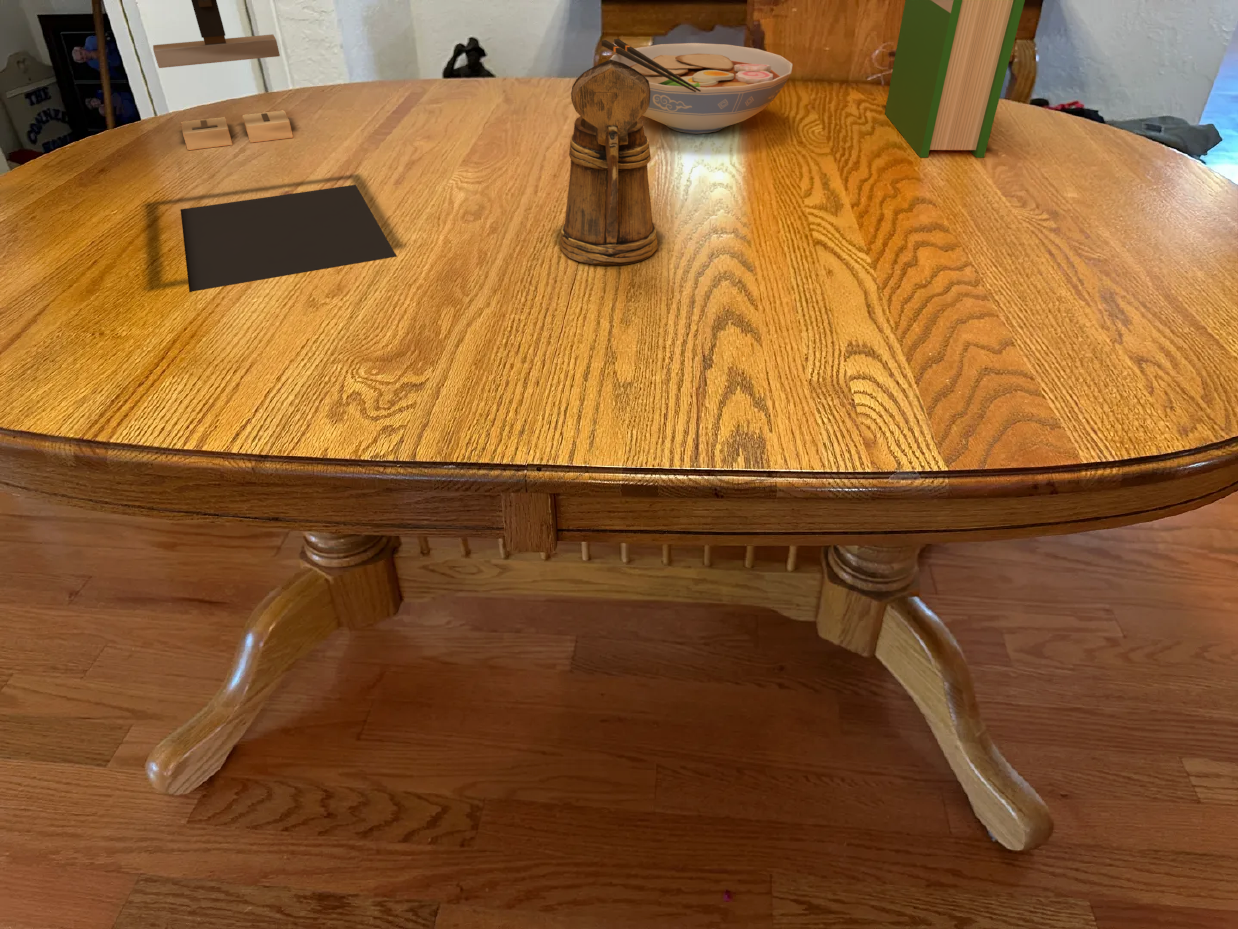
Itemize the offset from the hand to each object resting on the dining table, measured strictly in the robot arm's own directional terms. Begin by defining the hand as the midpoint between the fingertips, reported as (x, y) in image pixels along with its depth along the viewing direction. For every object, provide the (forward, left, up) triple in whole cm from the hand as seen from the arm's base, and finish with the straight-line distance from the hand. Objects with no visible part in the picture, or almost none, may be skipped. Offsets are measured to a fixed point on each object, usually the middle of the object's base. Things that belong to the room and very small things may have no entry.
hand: (212, 32), depth 104 cm
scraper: (0, 0, -3) cm, 3 cm away
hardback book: (+41, +78, -10) cm, 89 cm away
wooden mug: (+58, +27, -10) cm, 65 cm away
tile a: (+8, -4, -10) cm, 13 cm away
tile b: (+8, +3, -10) cm, 13 cm away
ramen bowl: (+26, +53, -10) cm, 60 cm away
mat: (+40, 0, -10) cm, 41 cm away
